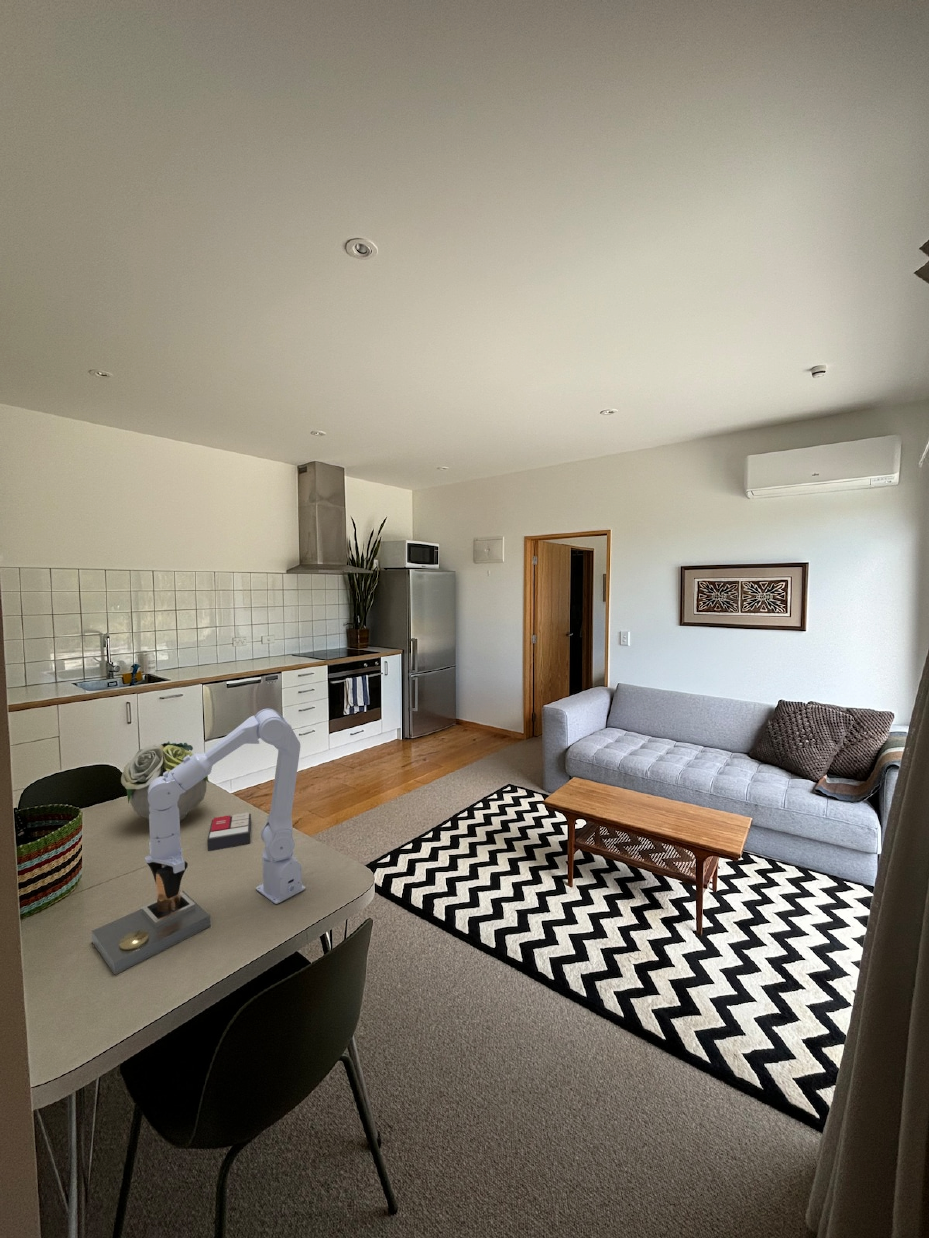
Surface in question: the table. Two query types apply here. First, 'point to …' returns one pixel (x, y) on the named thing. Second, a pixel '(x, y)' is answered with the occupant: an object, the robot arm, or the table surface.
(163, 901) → the copper cylinder
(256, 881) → the table surface
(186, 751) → the flower arrangement
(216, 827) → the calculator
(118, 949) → the grey peg holder base
